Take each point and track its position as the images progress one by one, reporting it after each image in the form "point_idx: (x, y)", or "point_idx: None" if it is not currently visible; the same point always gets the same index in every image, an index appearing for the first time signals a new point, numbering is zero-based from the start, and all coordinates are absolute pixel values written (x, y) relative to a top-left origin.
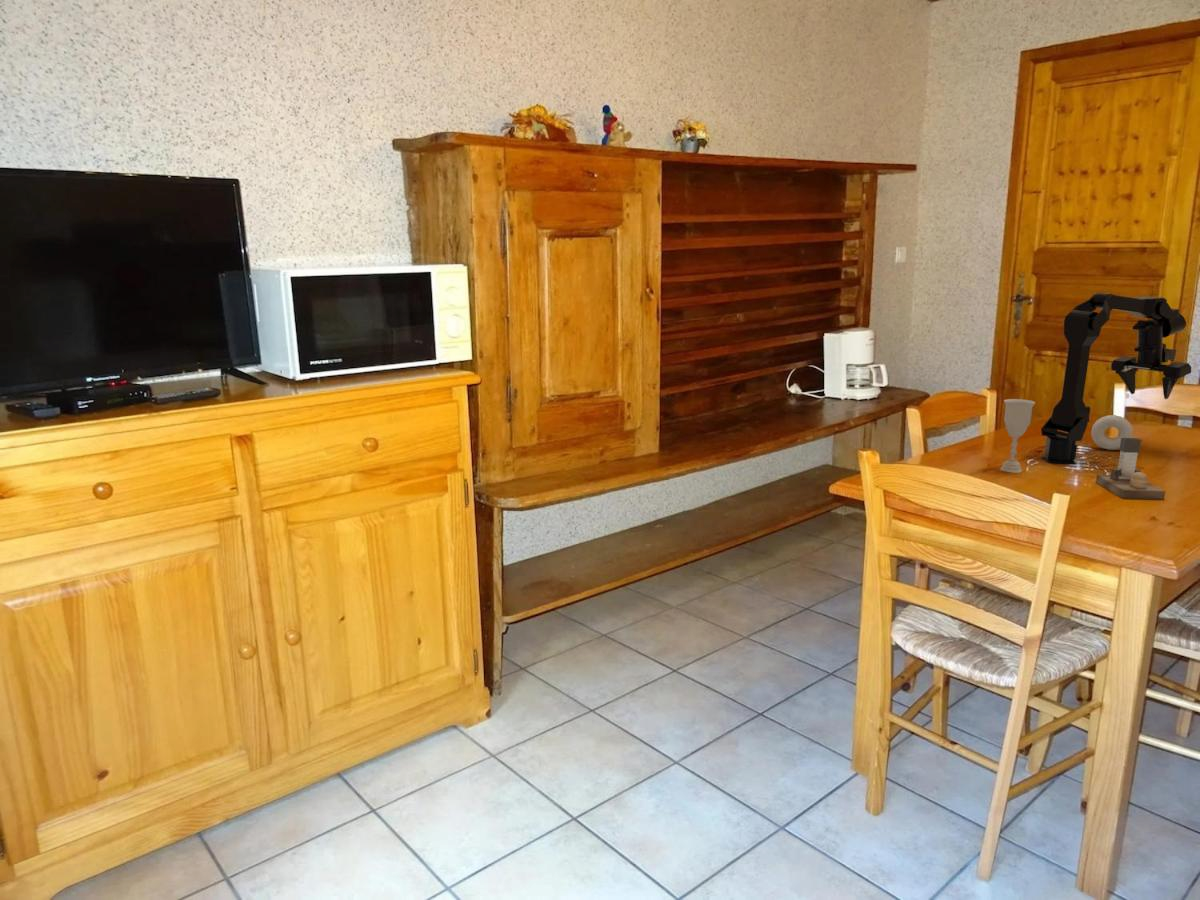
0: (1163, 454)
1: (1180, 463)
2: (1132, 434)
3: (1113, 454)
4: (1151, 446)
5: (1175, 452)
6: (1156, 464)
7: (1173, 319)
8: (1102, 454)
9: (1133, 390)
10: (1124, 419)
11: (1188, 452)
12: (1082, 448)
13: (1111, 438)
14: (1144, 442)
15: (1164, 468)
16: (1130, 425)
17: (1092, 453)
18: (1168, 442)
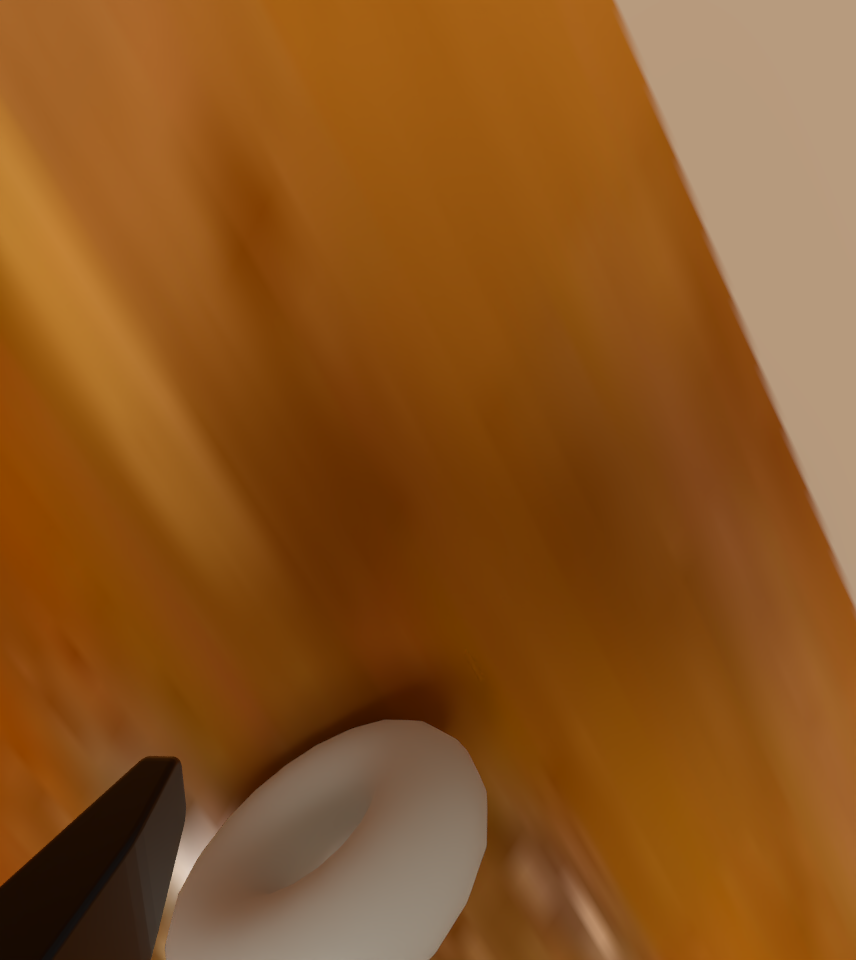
0: (637, 546)
1: (827, 700)
2: (486, 794)
3: None
4: (447, 356)
5: (659, 396)
6: (743, 859)
7: None
8: None
9: (159, 863)
10: (418, 952)
11: (718, 301)
12: None
13: (341, 824)
14: (331, 253)
15: (818, 908)
16: (471, 870)
17: None
18: (442, 47)
